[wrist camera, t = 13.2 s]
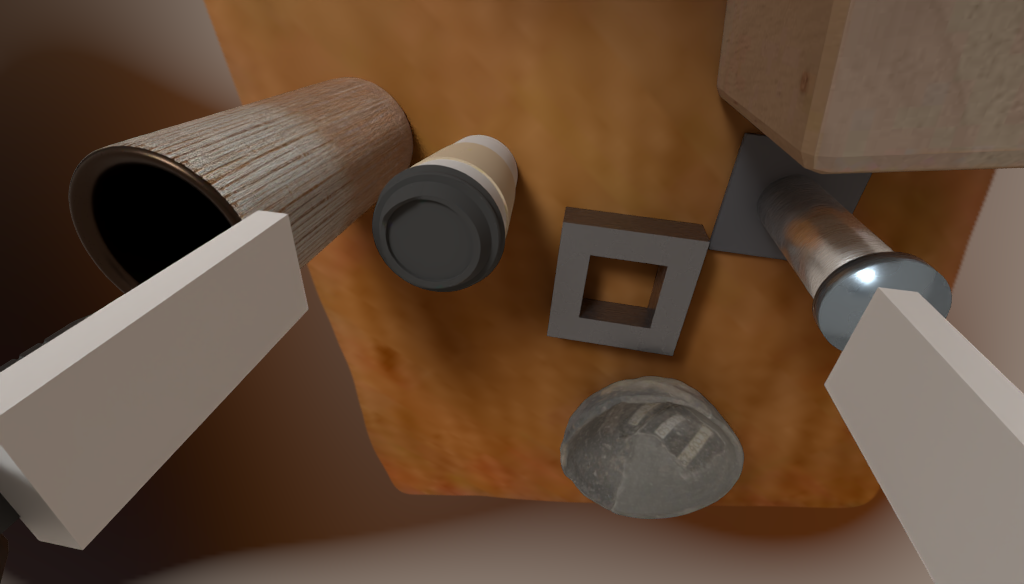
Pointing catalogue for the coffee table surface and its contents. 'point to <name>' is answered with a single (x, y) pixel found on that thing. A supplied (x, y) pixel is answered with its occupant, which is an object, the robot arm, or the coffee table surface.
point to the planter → (240, 176)
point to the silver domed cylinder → (840, 256)
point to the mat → (751, 177)
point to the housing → (628, 240)
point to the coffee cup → (448, 215)
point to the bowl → (650, 449)
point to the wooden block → (880, 81)
